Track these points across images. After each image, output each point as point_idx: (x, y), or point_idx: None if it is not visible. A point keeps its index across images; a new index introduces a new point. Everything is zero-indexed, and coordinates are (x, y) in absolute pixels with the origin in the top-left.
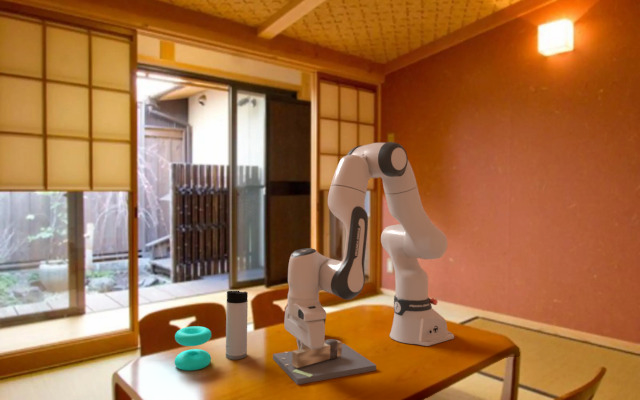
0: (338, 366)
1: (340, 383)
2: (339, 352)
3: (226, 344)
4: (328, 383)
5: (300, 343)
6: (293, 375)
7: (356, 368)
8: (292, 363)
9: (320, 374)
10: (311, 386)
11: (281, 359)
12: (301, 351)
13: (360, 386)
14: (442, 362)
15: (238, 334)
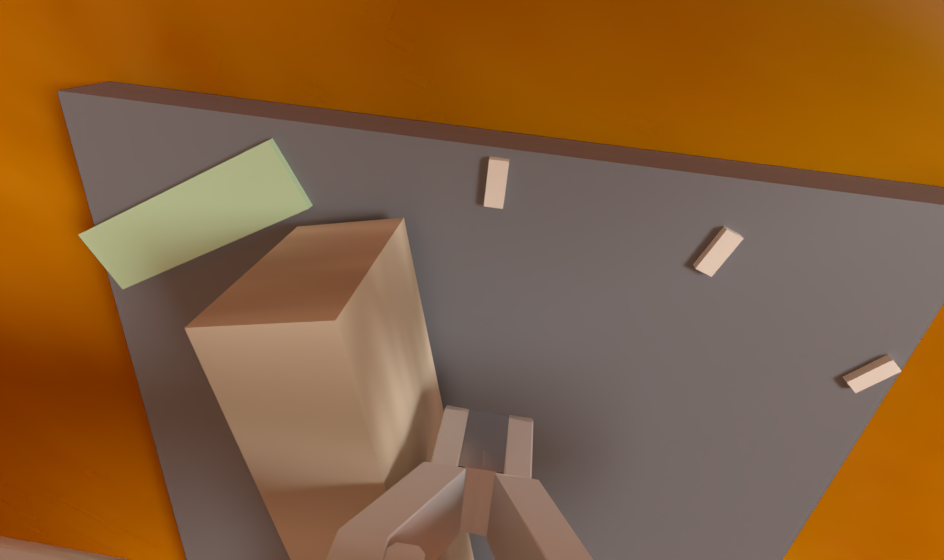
0: (264, 529)
1: (87, 399)
2: None
3: None
4: (99, 335)
5: (403, 551)
6: (187, 106)
7: None
8: (387, 227)
9: (138, 348)
10: (58, 188)
11: (718, 216)
12: (258, 419)
13: (26, 462)
14: None
15: None
